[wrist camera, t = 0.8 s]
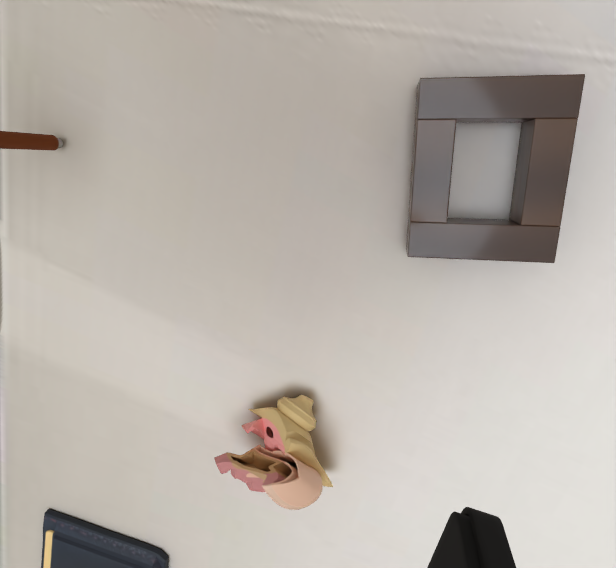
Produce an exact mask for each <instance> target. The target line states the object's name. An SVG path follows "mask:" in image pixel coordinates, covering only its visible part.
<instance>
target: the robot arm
mask: <svg viewBox="0 0 616 568" xmlns="http://www.w3.org/2000/svg"><path fill="white" fill-rule="evenodd" d="M428 568H516V566H515V563H514V560H513V556H512V553H511V550H510V547H509V543H508V540H507V537H506V534H505V531H504V527H503V524H502V522H501V520H500V519H499V518H498V517H497V516H494V515H490V514H487V513H484V512H481V511H478V510H475V509H472V508H469V507H465V508H464V509H463V511H462V512H461V514H460V513H457V512H453V513H452V514H451V516H450V518H449V520H448V522H447V524H446V527H445V529H444V531H443V533H442V536H441V538H440V540H439V543H438V545H437V547H436V549H435V552H434V554H433V556H432V559H431V561H430V563H429V565H428Z"/></svg>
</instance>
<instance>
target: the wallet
mask: <svg viewBox="0 0 616 568" xmlns="http://www.w3.org/2000/svg"><path fill="white" fill-rule="evenodd" d="M41 568H168V556H167V555H166V554H165V553H164V552H163V551H162V550H161V549H159V548H156V547H154V546H151V545H149V544H146V543H143V542H141V541H138V540H135V539H132V538H129V537H126V536H123V535H120V534H117V533H114V532H112V531H109V530H106V529H103V528H100V527H98V526H95V525H92V524H90V523H87V522H84V521H81V520H79V519H76V518H73V517H70V516H67V515H64V514H61V513H59V512H56V511H53V510H50V509H48V510H47V511H46V512H45V516H44V523H43V549H42V565H41Z"/></svg>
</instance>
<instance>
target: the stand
mask: <svg viewBox="0 0 616 568" xmlns="http://www.w3.org/2000/svg"><path fill="white" fill-rule="evenodd" d="M584 78H585V74H576V75H535V76H493V77H452V78H420V81H419V83H418V86H417V98H416V113H415V128H414V142H413V157H412V172H411V186H410V201H409V215H408V216H409V217H408V230H407V245H406V250H407V255H408V257H426V258H449V259H473V260H496V261H520V262H543V263H554V262H555V256H556V250H557V243H558V237H559V231H560V224H561V218H562V212H563V206H564V200H565V193H566V187H567V181H568V175H569V169H570V163H571V157H572V150H573V144H574V138H575V132H576V126H577V120H578V119H577V118H578V115H579V109H580V103H581V96H582V90H583V84H584ZM477 122H523V123H522V127H521V135H520V143H519V150H518V158H517V166H516V173H515V181H514V189H513V196H512V204H511V211H510V220H497V219H461V218H447V216H448V205H449V194H450V183H451V172H452V162H453V151H454V140H455V129H456V123H477Z"/></svg>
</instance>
